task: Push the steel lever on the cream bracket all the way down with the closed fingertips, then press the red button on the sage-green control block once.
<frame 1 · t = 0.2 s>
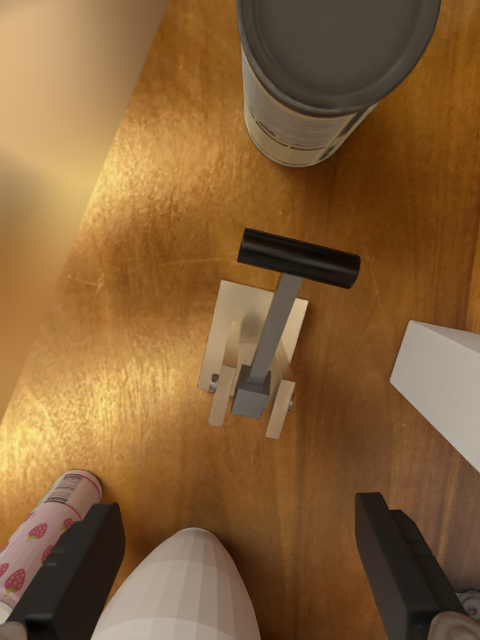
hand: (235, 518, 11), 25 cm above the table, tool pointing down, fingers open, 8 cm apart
lever bracket: (250, 342, 36), on the table
vase: (195, 549, 42), on the table
milk carton: (429, 356, 36), on the table
beverage can: (81, 486, 41), on the table
coffee can: (298, 109, 31), on the table
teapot: (463, 608, 43), on the table
toaster lever: (269, 339, 21), point 14 cm above the table, hinge at 25.0°
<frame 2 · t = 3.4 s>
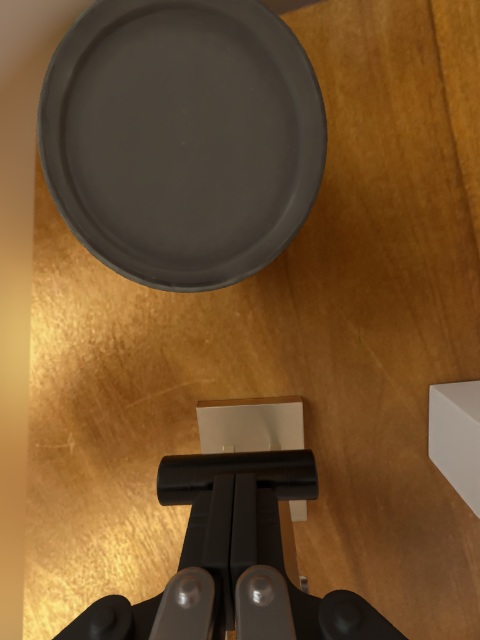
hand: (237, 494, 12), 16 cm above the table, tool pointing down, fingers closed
lever bracket: (253, 458, 31), on the table
milk carton: (468, 416, 29), on the table
coffee can: (219, 198, 26), on the table
toaster lever: (248, 547, 16), point 14 cm above the table, hinge at 18.2°, touching gripper
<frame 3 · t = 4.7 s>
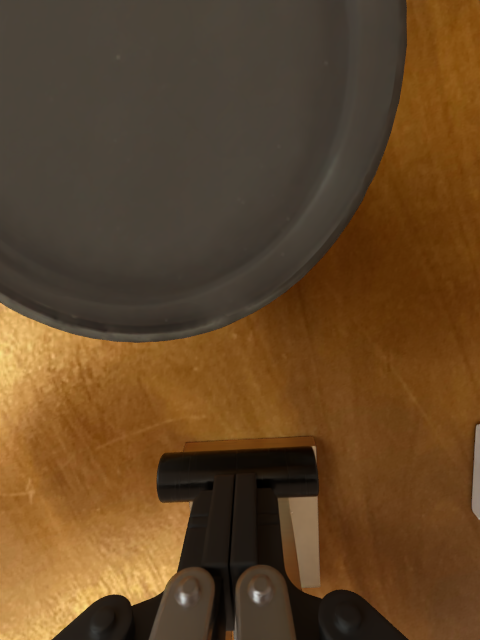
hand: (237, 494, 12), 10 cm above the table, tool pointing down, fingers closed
lever bracket: (254, 510, 25), on the table
coffee can: (209, 187, 20), on the table
toaster lever: (247, 618, 13), point 11 cm above the table, hinge at -13.4°, touching gripper
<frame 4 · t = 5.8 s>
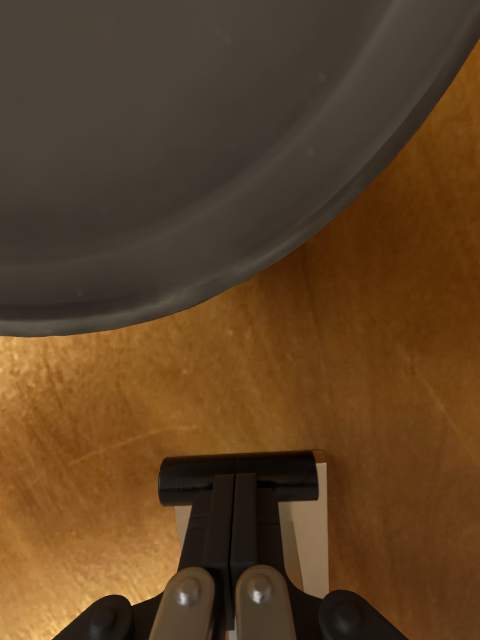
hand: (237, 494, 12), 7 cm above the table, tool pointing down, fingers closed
lever bracket: (253, 534, 21), on the table
coffee can: (199, 152, 16), on the table
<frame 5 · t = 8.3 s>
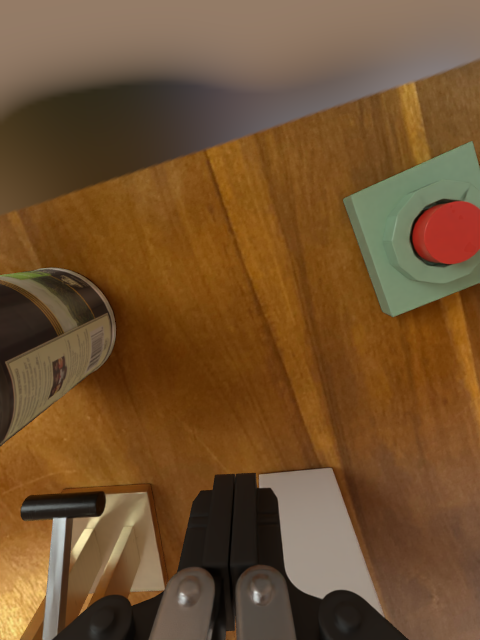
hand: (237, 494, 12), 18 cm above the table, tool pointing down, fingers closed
lever bracket: (117, 535, 35), on the table
milk carton: (298, 498, 33), on the table
coffee can: (61, 325, 30), on the table
toaster lever: (57, 592, 25), point 9 cm above the table, hinge at -30.5°
start button: (447, 233, 23), point 4 cm above the table, slide at 0.1 cm
button block: (416, 235, 27), on the table
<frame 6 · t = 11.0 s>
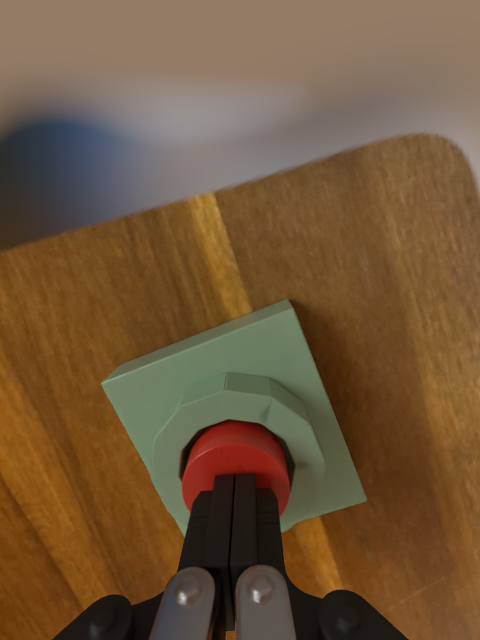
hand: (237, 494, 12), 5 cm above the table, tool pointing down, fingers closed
start button: (236, 475, 13), point 4 cm above the table, slide at -0.2 cm, touching gripper
button block: (239, 418, 17), on the table
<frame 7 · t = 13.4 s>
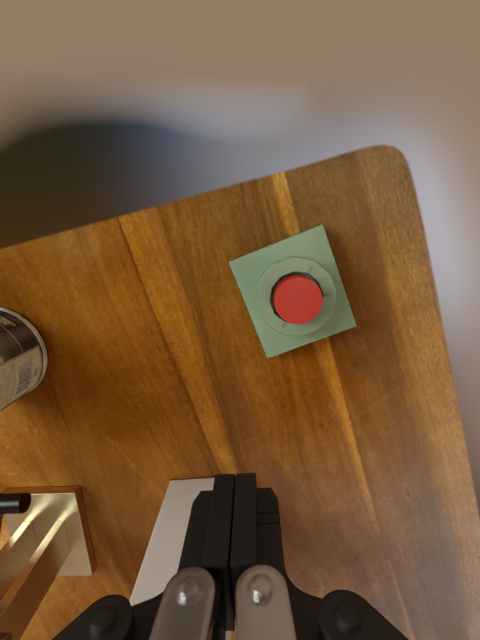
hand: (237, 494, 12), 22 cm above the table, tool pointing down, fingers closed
lever bracket: (53, 528, 41), on the table
milk carton: (204, 501, 39), on the table
coffee can: (2, 352, 36), on the table
start button: (297, 299, 29), point 4 cm above the table, slide at 0.1 cm
button block: (291, 291, 33), on the table
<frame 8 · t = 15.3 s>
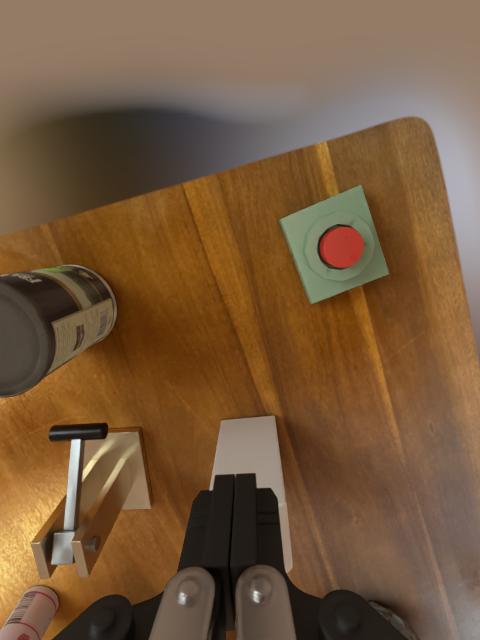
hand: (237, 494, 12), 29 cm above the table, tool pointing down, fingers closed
lever bracket: (115, 467, 46), on the table
milk carton: (250, 439, 45), on the table
beverage can: (43, 597, 52), on the table
coffee can: (76, 306, 41), on the table
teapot: (372, 615, 51), on the table
toaster lever: (74, 488, 36), point 9 cm above the table, hinge at -30.5°
start button: (341, 247, 34), point 4 cm above the table, slide at 0.1 cm
button block: (330, 246, 38), on the table
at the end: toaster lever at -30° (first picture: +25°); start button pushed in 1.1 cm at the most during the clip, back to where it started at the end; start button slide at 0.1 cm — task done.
